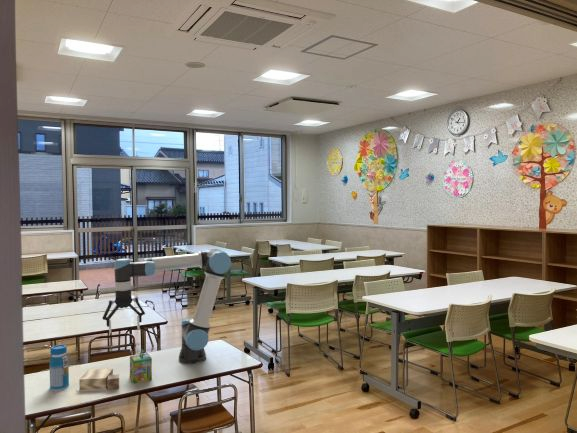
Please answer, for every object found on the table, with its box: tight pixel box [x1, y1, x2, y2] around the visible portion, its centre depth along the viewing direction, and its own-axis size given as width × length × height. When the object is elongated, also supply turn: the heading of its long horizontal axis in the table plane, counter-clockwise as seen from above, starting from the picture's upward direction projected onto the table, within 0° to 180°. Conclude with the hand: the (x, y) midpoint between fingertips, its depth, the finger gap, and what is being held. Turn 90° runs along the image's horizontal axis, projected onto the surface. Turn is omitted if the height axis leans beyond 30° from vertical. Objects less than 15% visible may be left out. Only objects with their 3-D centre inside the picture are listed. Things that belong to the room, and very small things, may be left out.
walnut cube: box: [107, 373, 120, 391], centre depth 211 cm, size 5×5×5 cm
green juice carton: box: [129, 349, 153, 384], centre depth 221 cm, size 9×9×15 cm
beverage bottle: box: [48, 344, 70, 391], centre depth 212 cm, size 8×8×20 cm
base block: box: [78, 368, 114, 390], centre depth 215 cm, size 12×12×5 cm
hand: (124, 330), depth 224 cm, fingers open, 13 cm apart
